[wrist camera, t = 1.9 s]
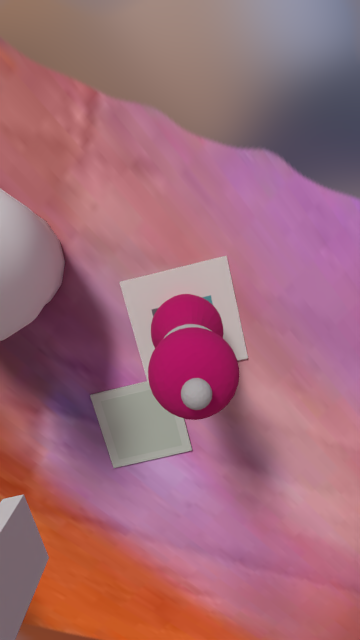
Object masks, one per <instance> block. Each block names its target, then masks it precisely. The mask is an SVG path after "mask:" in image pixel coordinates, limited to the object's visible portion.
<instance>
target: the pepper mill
mask: <svg viewBox="0 0 360 640" xmlns="http://www.w3.org/2000/svg"><path fill="white" fill-rule="evenodd" d="M223 334H224V333H223V324H222V320H221V317H220V314H219V313H218V311H217V309H216V308H215V307H214V306H213V305H212V304H211V303H210V302H209V301H207V300H206V299H204V298H202V297H199V296H196V295H192V294H180V295H177V296H174V297H172V298H170V299H169V300H167V301H165V302H164V303H163V304H162V305H161V306H160V307H159V308H158V309H157V311H156V313H155V314H154V317H153V319H152V323H151V338H152V342H153V345H154V347H155V349H154V351H153V353H152V355H151V358H150V361H149V366H148V379H149V385H150V388H151V391H152V394H153V395H154V397H155V398H156V400H157V401H158V402H159V404H160V405H161V406H162V407H163V408H164V409H165V410H167V411H168V412H170V413H171V414H173V415H176V416H178V417H181V418H185V419H194V420H197V419H203V418H207V417H210V416H212V415H214V414H216V413H218V412H219V411H221V410H222V409H223V408H224V407H225V406H226V405H227V404H228V403H229V402H230V400H231V399H232V398H233V396H234V394H235V391H236V389H237V386H238V382H239V367H238V363H237V358H236V356H235V354H234V351H233V350H232V348H231V347H230V345H229V344H228V343H227V342H226V341H225V340H224V339H223Z"/></svg>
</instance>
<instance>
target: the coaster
mask: <svg viewBox="0 0 360 640" xmlns="http://www.w3.org/2000/svg"><path fill="white" fill-rule="evenodd" d="M90 397H91V400H92V403H93V406H94V409H95V412H96V415H97V419H98V422H99V425H100V428H101V431H102V434H103V437H104V440H105V443H106V446H107V449H108V452H109V456H110V459H111V462H112V465H113V468H117V467H121V466H125V465H130V464H134V463H139V462H143V461H147V460H152V459H156V458H161V457H165V456H170V455H174V454H178V453H183V452H187V451H192V447H191V444H190V440H189V436H188V432H187V428H186V425H185V421H184V418H181V417H178V416H176V415H173V414H171V413H170V412H168V411H167V410H165V409H164V408H163V407H162V406H161V405H160V404H159V402H158V401H157V400H156V398H155V397H154V395H153V394H152V391H151V388H150V385H149V382H147V381H146V382H142V383H137V384H133V385H129V386H125V387H120V388H116V389H112V390H108V391H103V392H99V393H95V394H91V395H90Z"/></svg>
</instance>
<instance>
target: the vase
mask: <svg viewBox="0 0 360 640" xmlns="http://www.w3.org/2000/svg"><path fill="white" fill-rule="evenodd" d="M64 266H65V260H64V256H63V252H62V248H61V244H60V240H59V239H58V237H57V236H56V234H55V233H54V232H53V230H52V229H51V227H50V226H49V224H48V223H47V221H45V220H44V219H42V218H41V217H39V216H38V215H36V214H35V213H34V212H32V211H31V210H30V209H29V208H28V207H26V206H25V205H23V204H22V203H21V202H19V201H18V200H16V199H15V198H13V197H12V196H10V195H9V194H7V193H6V192H5V191H3V190H2V189H0V341H2V340H4V339H6V338H8V337H10V336H11V335H13V334H14V333H16V332H17V331H19V330H20V329H22V328H23V327H25V326H26V325H28V324H29V323H31V322H32V321H34V320H35V319H36V317H37V316H38V315H39V313H40V312H41V310H42V308H43V307H44V305H45V304H47V303H48V302H50V301H51V300H52V298H53V297H54V295H55V294H56V292H57V290H58V289H59V287H60V286H61V284H62V279H63V273H64Z"/></svg>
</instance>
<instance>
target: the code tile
mask: <svg viewBox="0 0 360 640" xmlns="http://www.w3.org/2000/svg"><path fill="white" fill-rule="evenodd" d="M120 286H121V289H122V293H123V296H124V300H125V303H126V307H127V311H128V314H129V318H130V321H131V325H132V328H133V332H134V335H135V339H136V342H137V346H138V350H139V353H140V357H141V360H142V364H143V367H144V371H145V374H146V378H147V382H149V379H148V366H149V361H150V358H151V355H152V353H153V351H154V349H155V347H154V345H153V342H152V338H151V323H152V319H153V317H154V314H155V313H156V311H157V309H158V308H159V307H160V306H161V305H162V304H163V303H164V302H165V301H167V300H169V299H170V298H172V297H174V296H177V295H180V294H192V295H196V296H199V297H202V298H204V299H206V300H207V301H209V302H210V303H211V304H212V305H213V306H214V307H215V308H216V309H217V311H218V313H219V314H220V317H221V320H222V324H223V333H224V334H223V339H224V340H225V341H226V342H227V343H228V344H229V345H230V347H231V348H232V350H233V351H234V354H235V356H236V358H237V361H238V360H243V359H247V358H248V356H247V351H246V346H245V342H244V337H243V332H242V327H241V322H240V318H239V313H238V308H237V303H236V298H235V294H234V289H233V284H232V279H231V275H230V270H229V265H228V260H227V256H223V257H219V258H215V259H211V260H206V261H202V262H198V263H194V264H190V265H186V266H182V267H178V268H174V269H170V270H166V271H162V272H158V273H154V274H150V275H146V276H142V277H138V278H133V279H129V280H125V281H121V282H120Z"/></svg>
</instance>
